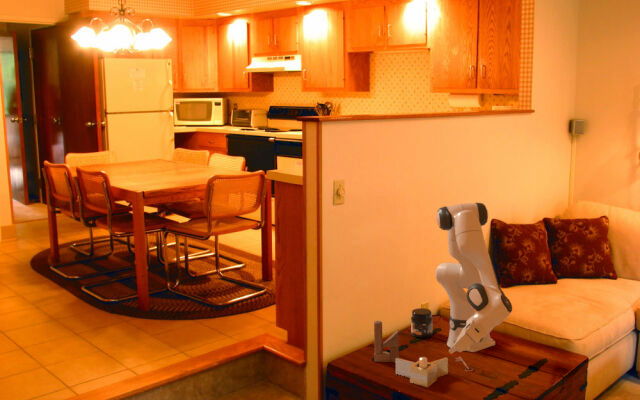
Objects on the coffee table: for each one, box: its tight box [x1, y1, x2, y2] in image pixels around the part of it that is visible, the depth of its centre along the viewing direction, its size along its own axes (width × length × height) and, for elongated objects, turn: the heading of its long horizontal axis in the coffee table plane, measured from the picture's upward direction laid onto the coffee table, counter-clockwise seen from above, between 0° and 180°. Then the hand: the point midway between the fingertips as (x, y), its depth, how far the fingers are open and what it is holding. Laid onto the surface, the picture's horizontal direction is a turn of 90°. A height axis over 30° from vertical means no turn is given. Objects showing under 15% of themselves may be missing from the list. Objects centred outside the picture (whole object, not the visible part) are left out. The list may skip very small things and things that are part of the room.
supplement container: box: [410, 307, 433, 339], centre depth 306 cm, size 10×10×12 cm
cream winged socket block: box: [394, 356, 449, 388], centre depth 262 cm, size 18×16×7 cm
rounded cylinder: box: [418, 356, 428, 369], centre depth 256 cm, size 3×3×10 cm
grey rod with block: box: [373, 320, 400, 363], centre depth 277 cm, size 4×11×18 cm, turn 81°
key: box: [454, 356, 475, 373], centre depth 272 cm, size 6×1×15 cm
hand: (452, 347), depth 249 cm, fingers open, 8 cm apart
